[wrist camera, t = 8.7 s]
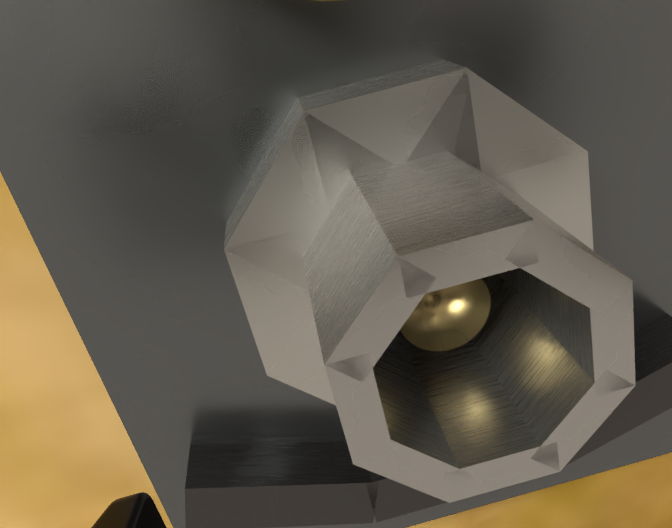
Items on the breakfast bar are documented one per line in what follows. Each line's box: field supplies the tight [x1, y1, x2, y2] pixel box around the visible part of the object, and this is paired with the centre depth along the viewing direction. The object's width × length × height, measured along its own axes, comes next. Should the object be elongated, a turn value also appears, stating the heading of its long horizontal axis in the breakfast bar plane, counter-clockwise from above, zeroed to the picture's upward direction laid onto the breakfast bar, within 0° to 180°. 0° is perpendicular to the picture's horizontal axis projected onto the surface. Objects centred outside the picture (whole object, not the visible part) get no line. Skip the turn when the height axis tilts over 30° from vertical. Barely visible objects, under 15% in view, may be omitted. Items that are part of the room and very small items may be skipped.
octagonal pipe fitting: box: [224, 59, 636, 503], centre depth 11 cm, size 7×7×5 cm
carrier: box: [0, 0, 672, 528], centre depth 11 cm, size 14×20×4 cm
